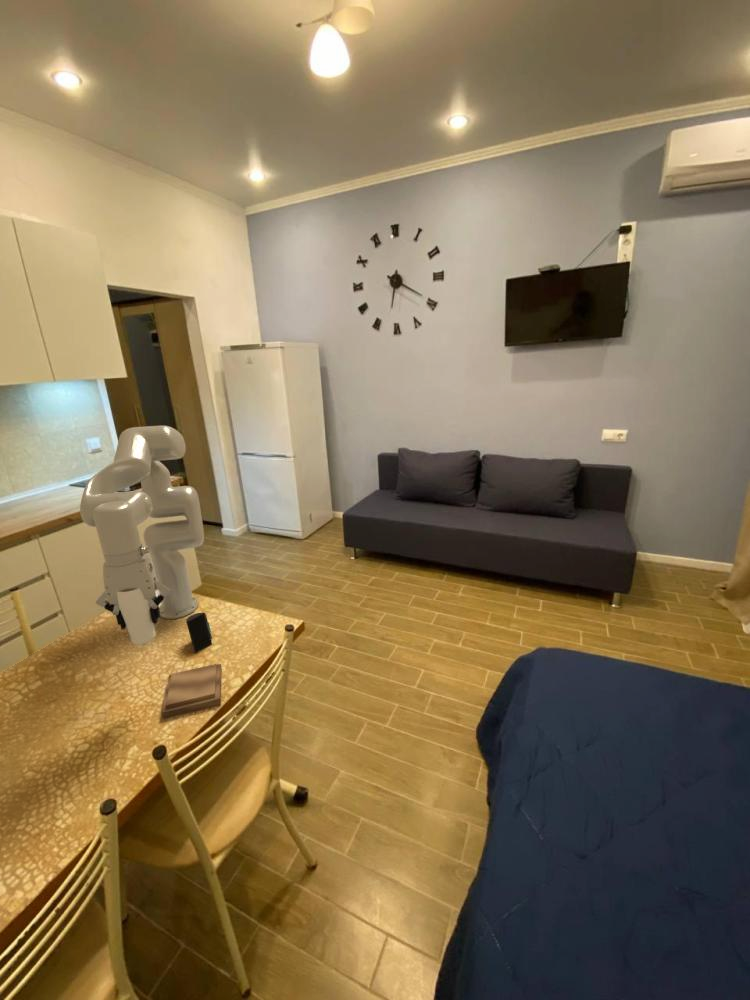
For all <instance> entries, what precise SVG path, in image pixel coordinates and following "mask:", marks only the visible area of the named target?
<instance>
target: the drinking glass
mask: <svg viewBox="0 0 750 1000" xmlns="http://www.w3.org/2000/svg"><path fill="white" fill-rule="evenodd" d="M117 598H118V606H119V608H120V611H121V614H122V616H123V619H124V621H125V624H126V629H127V631H128V634H129V638H130V641H131V643H132V644H133V645H138V646H141V645H145V644H148V643H150V642H151V641H153V640H154V638H155V637H156V634H157V633H156V627H155V624H154V623H153V621H152V617H151V613H150V609H151V606H150V605H149V604H148V600H145V598H144V596H143V594H142V592H141V590H140V588H138V589H135V590H132V591H127V592H119V591H117Z"/></svg>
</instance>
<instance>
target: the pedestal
mask: <svg viewBox="0 0 750 1000" xmlns="http://www.w3.org/2000/svg"><path fill="white" fill-rule="evenodd" d="M222 674H223V669H222V664H221V663H219V664H218V663H215V664H211V665H210V664H209V665H206V666H205V665H204V666H201V667H198V668H197V667H196V668H193V669H188V670H184V671H178V672H174V673H171V674H169V675H168V678H167V683H166V687H165V693H164V699H163V703H162V709H161V716H162V719H163V720H165V719H169V718H174V717H177V716H181V715H186V714H189V713H193V712H198V711H202V710H205V709H211V708H213V707H214V708H215V707H218V706H221V705H222V681H223V680H222V679H223V678H222V676H223V675H222Z"/></svg>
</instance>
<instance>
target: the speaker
mask: <svg viewBox="0 0 750 1000" xmlns="http://www.w3.org/2000/svg"><path fill="white" fill-rule="evenodd" d="M185 621H186V625H187V626H186V627H187V629H188V630H187V631H188V634H189V636H190V640H191V644H192V647H193V650H194V651H193V652H194V654H198V653H199V652H202V651H203V650H204V649H206V648H208V647H210V646H211V645H213V642H212V640H213V637H212V633H211V632H212V630H211V627H210V623H209V621H208V618H207V613H206V612H196V613H194V614H192V615H189V616H188V617H187V618H186V619H185Z"/></svg>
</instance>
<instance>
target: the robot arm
mask: <svg viewBox="0 0 750 1000" xmlns="http://www.w3.org/2000/svg"><path fill="white" fill-rule="evenodd" d="M186 447H187V446H186V442H185V438H184V436H183V435H182V434H181V432H180V431H178V430H177V429H176V428H173V427H172V426H168V425H150V426H149V425H147V426H133V427H129V428H126V429H125V430H123V431H121V434H120V435H119V437H118V442H117V445H116V449H115V455H114V457H113V462H111V463H110V464H108V465H107V466H105V467H104V468H102V469H101V470H99V471H98V472H97V473H95V474H94V475H93V476H92V477H91V478H89V480H88V481H87V482H86V485H85V486H84V489H83V492H82V495H81V500H80V505H79V512H80V513H79V514H80V517H81V520H82V521H83V522H84V524H86V525H87V526H88V527H93V528H96V533H97V537H98V540H99V544H100V548H101V551H102V556H103V559H104V563H103V564H102V578H103V579H102V580H103V587H104V591H103V592H102V593H101V594H100V596H98V598H97V599H96V601H95V604H96V605H98V606H100V607H101V608H104V610H107V611H108V612H110V613H112V615H113V616H115V619H116V621H117V622H116V623H117V625H119V626H120V629H121V630H125V629H127V627H126V624H125V621H124V619H123V616H122V614H121V611H120V608H119V606H118V598H117V591H119V592H127V591H132V590H135V589H138V588H140V590H141V592H142V594H143V596H144V598H145V600H148V604H149V605H150V606H151V609H150V613H151V617H152V621H153V623H154V625H155V624H157V622H158V620H159V619H160V618H163V619H166V620H172V619H173V620H174V619H179V618H182V617H186V616H188V615H190V614H191V613H193V612H195V610H196V609H197V608H198V607H199V600H198V598H197V597H196V596H193V593H192V589H191V588H192V587H191V583H190V579H189V578H190V577H189V572H188V566H187V562H186V559H185V557H184V555H183V553H181V552H180V551H181V550H185V549H193V548H198V547H200V546H202V545H203V544H204V541H205V532H204V531H205V529H204V523H203V518H202V511H201V503H200V498H199V494H198V492H197V490H196V489H195V488H194V487H193V486H190V485H182V486H181V485H180V486H173V485H172V480H171V473H170V471H169V469H168V468H167V466H165V464H163V463H162V462H161V461H171V460H179V459H182V458H184V456H185V454H186V451H187V450H186V449H187V448H186ZM139 483H140V484H141V485H140V486H141V490H132V491H130V490H129V491H122V492H120V491H121V490H124V489H126V488H130V487H132V486H134V485H136V484H139ZM149 517H150V518H151V519H164V518H173V517H185V518H186V519H180V520H168V521H162V522H155V523H152V524H150V525H148V526H147V527H146V528H145V530H144V531H143V541H144V544H145V546H146V547H144V546H143V543H141V538H140V534H139V530H138V525H140V524H141V523H144V522H145V521H146V520H147V519H148V518H149ZM179 550H180V551H179ZM148 554H149V555H150V557H149V555H148ZM150 559H151V560H150ZM156 590H158V593H159V594H158V595H156ZM160 604H161V605H160ZM159 605H160V606H159Z"/></svg>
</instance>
